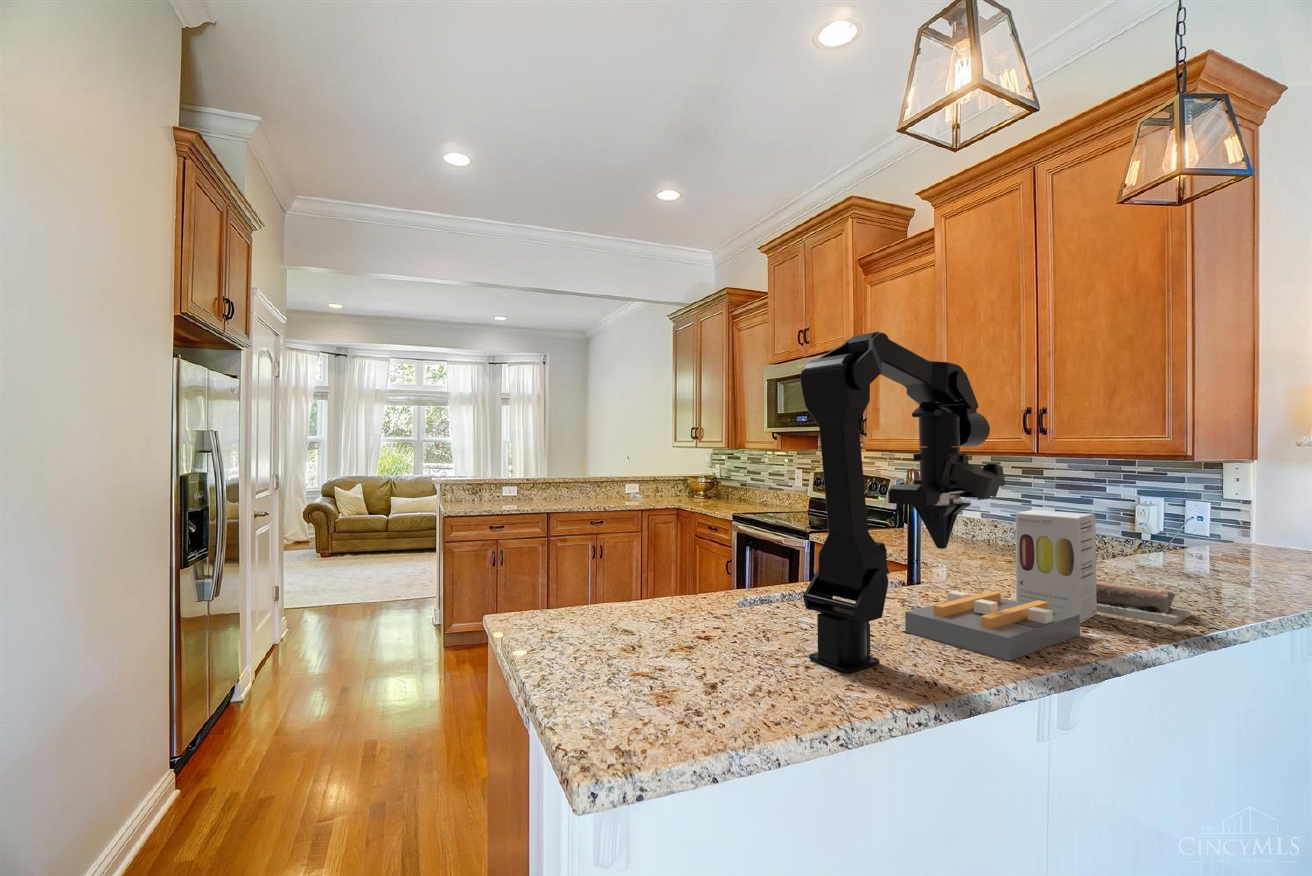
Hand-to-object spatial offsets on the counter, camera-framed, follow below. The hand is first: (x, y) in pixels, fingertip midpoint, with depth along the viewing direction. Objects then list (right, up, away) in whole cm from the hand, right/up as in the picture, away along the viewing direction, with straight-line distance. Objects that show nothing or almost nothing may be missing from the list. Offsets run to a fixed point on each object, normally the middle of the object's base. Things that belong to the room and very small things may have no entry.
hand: (941, 548), depth 91 cm
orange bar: (+8, -9, -6) cm, 13 cm away
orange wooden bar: (+4, -9, 0) cm, 10 cm away
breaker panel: (+6, -12, -3) cm, 14 cm away
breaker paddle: (+5, -9, -4) cm, 11 cm away
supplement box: (+23, -13, +8) cm, 27 cm away
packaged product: (+35, -13, +11) cm, 39 cm away
